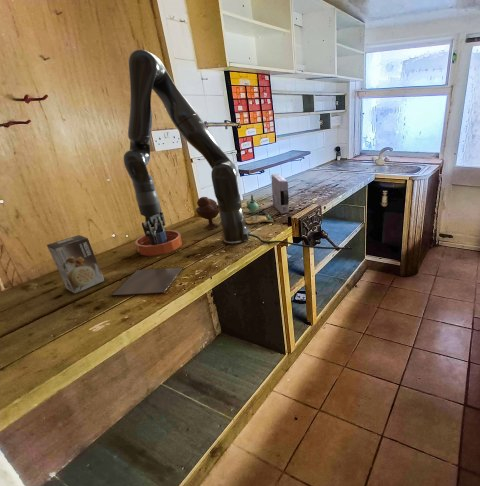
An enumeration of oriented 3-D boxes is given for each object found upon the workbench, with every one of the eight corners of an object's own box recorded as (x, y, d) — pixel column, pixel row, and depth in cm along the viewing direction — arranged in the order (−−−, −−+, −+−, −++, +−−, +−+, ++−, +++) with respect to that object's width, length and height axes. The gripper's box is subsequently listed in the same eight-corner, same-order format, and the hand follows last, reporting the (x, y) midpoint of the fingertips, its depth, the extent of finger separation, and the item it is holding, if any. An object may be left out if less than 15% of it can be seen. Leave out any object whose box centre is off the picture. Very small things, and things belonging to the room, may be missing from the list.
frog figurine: (266, 227, 148) (260, 197, 142) (236, 226, 155) (229, 197, 150) (277, 220, 156) (271, 191, 150) (248, 220, 163) (241, 192, 157)
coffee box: (96, 276, 109) (80, 234, 102) (105, 281, 106) (89, 237, 99) (65, 288, 102) (46, 244, 95) (74, 294, 99) (54, 248, 92)
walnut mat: (182, 268, 112) (182, 267, 112) (164, 293, 98) (164, 292, 98) (137, 271, 112) (137, 269, 111) (112, 296, 97) (111, 294, 97)
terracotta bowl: (187, 238, 138) (185, 229, 136) (173, 255, 123) (170, 245, 121) (149, 240, 137) (146, 231, 135) (130, 257, 122) (127, 247, 120)
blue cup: (171, 243, 133) (167, 227, 130) (165, 249, 127) (160, 233, 124) (156, 243, 132) (152, 228, 130) (149, 250, 127) (145, 234, 124)
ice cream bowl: (216, 231, 145) (210, 200, 139) (195, 230, 147) (188, 199, 141) (227, 223, 154) (222, 193, 148) (207, 222, 156) (201, 193, 150)
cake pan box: (290, 213, 166) (288, 180, 158) (281, 214, 164) (278, 181, 157) (281, 203, 182) (278, 173, 174) (272, 205, 180) (269, 174, 173)
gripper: (149, 207, 115) (160, 247, 122) (165, 196, 128) (174, 233, 135) (129, 207, 115) (141, 248, 122) (147, 197, 128) (157, 234, 135)
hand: (158, 240), depth 129 cm, fingers closed on blue cup, 6 cm apart
